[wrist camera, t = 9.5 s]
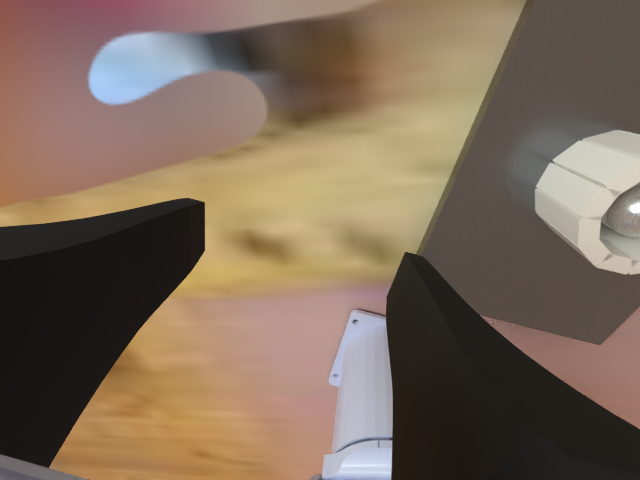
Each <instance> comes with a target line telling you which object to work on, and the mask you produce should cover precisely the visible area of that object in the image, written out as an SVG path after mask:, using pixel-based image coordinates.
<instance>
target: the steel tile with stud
mask: <svg viewBox="0 0 640 480" xmlns="http://www.w3.org/2000/svg"><path fill="white" fill-rule="evenodd" d="M614 130H617V131H618V130H621V131H626V132H630V133H635V134H640V0H527V1H526V4H525V6H524V8H523V10H522V13H521V15H520V17H519V20H518V22H517V24H516V27H515V29H514V31H513V33H512V36H511V38H510V40H509V43H508V45H507V47H506V50H505V52H504V54H503V56H502V59H501V61H500V63H499V66H498V68H497V70H496V73H495V75H494V77H493V79H492V82H491V84H490V86H489V89H488V91H487V93H486V95H485V98H484V100H483V102H482V105H481V107H480V109H479V112H478V114H477V116H476V118H475V121H474V123H473V125H472V128H471V130H470V132H469V135H468V137H467V139H466V141H465V144H464V146H463V148H462V151H461V153H460V155H459V157H458V160H457V162H456V164H455V167H454V169H453V171H452V174H451V176H450V178H449V180H448V183H447V185H446V187H445V190H444V192H443V194H442V197H441V199H440V201H439V203H438V206H437V208H436V210H435V213H434V215H433V217H432V219H431V222H430V224H429V226H428V229H427V231H426V233H425V236H424V238H423V240H422V242H421V245H420V247H419V249H418V252H417V254H416V255H420V256H423V257H424V258H425V259H426V260H427V261H428V262H429V263H430V264H431V265H432V266H433V267H434V268H435V269H436V270H437V271H438V272H439V273H440V275H441V276H442V277H443V278H444V279H445V280H446V281H447V282H448V283H449V285H450V286H451V287H452V288H453V289H454V290H455V291H456V292H457V293H458V294H459V295H460V296H461V297H462V298H463V299H464V300H465V301H466V302H467V304H468V305H470V306H471V307H472V308H473V309H474V310H475V311H476V312H477V313H478V314H479V315H483V316H487V317H491V318H495V319H499V320H503V321H507V322H511V323H515V324H519V325H523V326H527V327H530V328H534V329H538V330H542V331H546V332H550V333H554V334H558V335H562V336H566V337H570V338H574V339H578V340H582V341H586V342H590V343H594V344H598V345H601V344H602V343H603V342H604V341H605V340H606V339H607V338H608V337H609V336H610V335H611V334H612V333H613V332H614V331H615V330H616V329H617V328H618V327H619V326H620V325H621V324H622V323H623V322H624V321H625V320H626V319H627V318H628V317H629V316H630V315H631V314H632V313H633V312H634V311H635V310H636V309H637V308H638V307H639V306H640V273H639V274H632V275H630V274H627V275H625V274H621V273H617V272H613V271H609V270H605V269H601V268H597V267H596V266H594V265H593V264H591V263H590V262H589V261H588V260H587V259H586V258H584V257H583V256H582V255H581V254H580V253H578V252H577V251H576V250H575V249H574V248H573V247H571V246H570V245H569V244H568V243H567V242H565V241H564V240H563V239H562V238H561V237H560V236H558V235H557V234H556V233H555V232H554V231H553V230H551V229H550V228H549V227H548V226H547V225H546V223H545V222H544V221H543V220H542V219H541V218H540V217H539V216H538V215H537V212H536V211H535V189H537V187H536V185H537V183H538V182H539V180H540V178H541V177H542V175H543V173H544V172H545V170H546V168H547V167H548V165H549V163H554V162H553V161H552V160H553V159H554V158H556V157H557V156H558V155H560V154H561V153H563V152H564V151H565V150H567V149H568V148H569V147H571V146H572V145H573V144H575V143H576V142H578V141H579V140H580V141H582V139H583V138H587V137H591V136H595V135H599V134H602V133H606V132H610V131H614ZM554 164H555V163H554ZM601 223H603V224H604V225H606V226H607V227H609V228H611V229H612V230H614V231H616V232H618V233H620V234H623V235H628V236H640V182H639V183H637V184H636V185H634V186H632V187H631V188H629V189H628V190H626V191H624V192H623V193H621V194H619V195H618V196H617V198H616V199H615V200H614V202H613V203H612V204H611V206H610V207H609V208H608V210H607V211H606V212H605V214H604V215H603V216H602V218H601Z"/></svg>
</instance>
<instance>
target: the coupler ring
mask: <svg viewBox="0 0 640 480" xmlns="http://www.w3.org/2000/svg"><path fill="white" fill-rule="evenodd" d="M552 161H553V162H554V163H555V164H554V163H549V165H548V167H547V168H546V170H545V172H544V173H543V175H542V177H541V178H540V180H539V182H538V183H537V185H536V187H537V189H535V211H536V212H537V215H538V216H539V217H540V218H541V219H542V220H543V221H544V222H545V223H546V225H547V226H548V227H549V228H550V229H551V230H553V231H554V232H555V233H556V234H557V235H558V236H560V237H561V238H562V239H563V240H564V241H565V242H567V243H568V244H569V245H570V246H571V247H573V248H574V249H575V250H576V251H577V252H578V253H580V254H581V255H582V256H583V257H584V258H586V259H587V260H588V261H589V262H590V263H591V264H593V265H594V266H596V267H597V268H601V269H605V270H609V271H613V272H617V273H621V274H625V275H627V274H630V275H632V274H639V273H640V236H628V235H623V234H620V233H618V232H616V231H614V230H612V229H611V228H609V227H607V226H606V225H604V224H603V223H601V218H602V216H603V215H604V214H605V212H606V211H607V210H608V208H609V207H610V206H611V204H612V203H613V202H614V200H615V199H616V198H617V196H618V195H619V194H621V193H623V192H624V191H626V190H628V189H629V188H631V187H632V186H634V185H636V184H637V183H639V182H640V134H635V133H630V132H626V131H621V130H618V131H617V130H614V131H610V132H606V133H602V134H599V135H595V136H591V137H587V138H583V139H582V141H580V140H579V141H578V142H576V143H575V144H573V145H572V146H571V147H569V148H568V149H567V150H565V151H564V152H563V153H561V154H560V155H558V156H557V157H556V158H554V159H553V160H552Z"/></svg>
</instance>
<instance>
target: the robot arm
mask: <svg viewBox="0 0 640 480" xmlns="http://www.w3.org/2000/svg"><path fill="white" fill-rule="evenodd" d="M204 251H205V202H202V201H198V200H194V199H190V198H183V199H176V200H171V201H166V202H161V203H157V204H152V205H148V206H143V207H139V208H134V209H130V210H125V211H120V212H115V213H110V214H105V215H100V216H95V217H89V218H83V219H76V220H69V221H61V222H53V223H45V224H34V225H21V226H8V227H0V480H88V479H85V478H81V477H78V476H74V475H71V474H67V473H64V472H60V471H57V470H53V469H50V468H49V466H50V465H51V463H52V461H53V459H54V458H55V456H56V454H57V453H58V451H59V449H60V448H61V446H62V444H63V443H64V441H65V439H66V438H67V436H68V434H69V433H70V431H71V429H72V428H73V426H74V424H75V423H76V421H77V420H78V418H79V416H80V415H81V413H82V412H83V410H84V409H85V407H86V406H87V404H88V402H89V401H90V399H91V398H92V396H93V395H94V393H95V392H96V390H97V389H98V387H99V385H100V384H101V382H102V381H103V380H104V378H105V377H106V375H107V374H108V372H109V371H110V369H111V368H112V367H113V365H114V364H115V362H116V361H117V359H118V358H119V356H120V355H121V354H122V352H123V351H124V350H125V348H126V347H127V345H128V344H129V343H130V341H131V340H132V339H133V337H134V336H135V335H136V333H137V332H138V330H139V329H140V328H141V327H142V326H143V324H144V323H145V322H146V321H147V320H148V318H149V317H150V316H151V315H152V314H153V313H154V312H155V311H156V310H157V308H158V307H159V306H160V305H161V304H162V303H163V302H164V301H165V300H166V299H167V298H168V296H169V295H170V294H171V293H172V292H173V291H174V290H175V289H176V288H177V287H178V286H179V284H180V283H181V282H182V281H183V280H184V279H185V278H186V277H187V275H188V274H189V273H190V272H191V271H192V269H193V268H194V266H195V265H196V263H197V262H198V260H199V259H200V257H201V256H202V254H203V253H204ZM354 320H358V321H354ZM329 384H331V385H333V386H337V387H338V397H337V406H336V416H335V425H334V435H333V444H332V454H325V455H324V464H323V472H322V474H316V475H314V476H312V477H311V478H310V479H309V480H640V429H638V428H637V427H635V426H633V425H632V424H630V423H628V422H626V421H625V420H623V419H621V418H620V417H618V416H616V415H614V414H613V413H611V412H610V411H608V410H606V409H605V408H603V407H602V406H600V405H599V404H597V403H595V402H594V401H592V400H591V399H589V398H588V397H586V396H585V395H583V394H581V393H580V392H578V391H577V390H575V389H574V388H572V387H571V386H569V385H568V384H566V383H565V382H563V381H562V380H561V379H559V378H558V377H556V376H555V375H553V374H552V373H550V372H549V371H548V370H546V369H545V368H544V367H542V366H541V365H539V364H538V363H537V362H535V361H534V360H533V359H531V358H530V357H529V356H527V355H526V354H525V353H523V352H522V351H521V350H519V349H518V348H517V347H516V346H514V345H513V344H512V343H511V342H510V341H508V340H507V339H506V338H505V337H504V336H502V335H501V334H500V333H499V332H498V331H496V330H495V329H494V328H493V327H492V326H491V325H490V324H488V323H487V322H486V321H485V320H484V319H483V318H482V317H481V316H480V315H479V314H478V313H477V312H476V311H475V310H474V309H473V308H472V307H471V306H470V305H468V304H467V302H466V301H465V300H464V299H463V298H462V297H461V296H460V295H459V294H458V293H457V292H456V291H455V290H454V289H453V288H452V287H451V286H450V285H449V283H448V282H447V281H446V280H445V279H444V278H443V277H442V276H441V275H440V273H439V272H438V271H437V270H436V269H435V268H434V267H433V266H432V265H431V264H430V263H429V262H428V261H427V260H426V259H425V258H424V257H423V256H420V255H416V254H412V253H408V252H405V254H404V256H403V259H402V261H401V264H400V266H399V269H398V271H397V273H396V276H395V278H394V281H393V283H392V286H391V288H390V290H389V293H388V295H387V305H386V317H384V316H381V315H377V314H373V313H369V312H365V311H361V310H353V311H352V312H351V315H350V318H349V321H348V323H347V326H346V329H345V332H344V335H343V338H342V341H341V344H340V347H339V350H338V353H337V356H336V359H335V362H334V364H333V367H332V370H331V373H330V376H329Z"/></svg>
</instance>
